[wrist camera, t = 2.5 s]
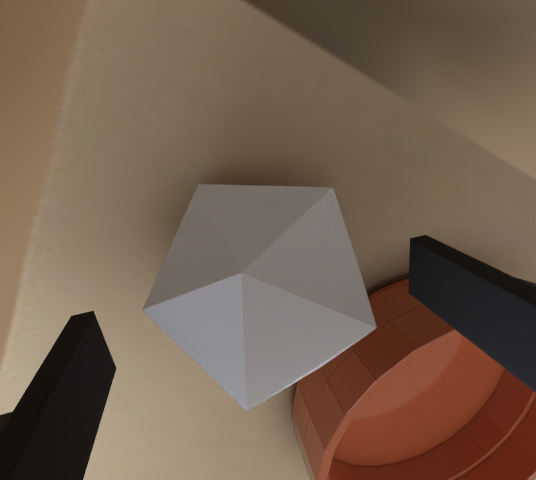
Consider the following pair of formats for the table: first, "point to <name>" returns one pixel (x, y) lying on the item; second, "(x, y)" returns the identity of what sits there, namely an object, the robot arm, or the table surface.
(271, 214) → the die
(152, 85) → the table surface
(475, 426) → the bowl
